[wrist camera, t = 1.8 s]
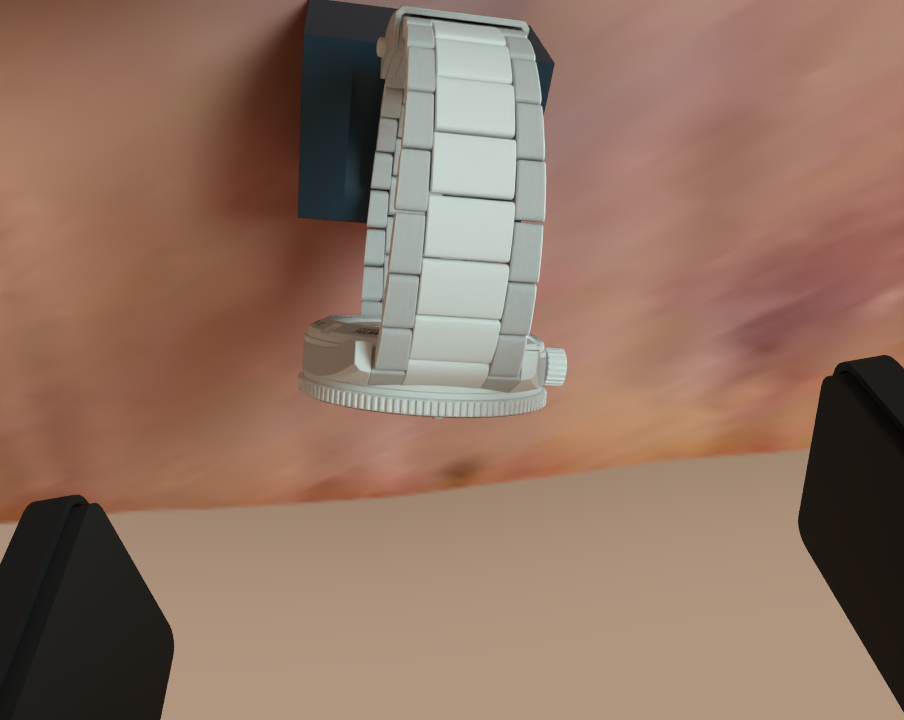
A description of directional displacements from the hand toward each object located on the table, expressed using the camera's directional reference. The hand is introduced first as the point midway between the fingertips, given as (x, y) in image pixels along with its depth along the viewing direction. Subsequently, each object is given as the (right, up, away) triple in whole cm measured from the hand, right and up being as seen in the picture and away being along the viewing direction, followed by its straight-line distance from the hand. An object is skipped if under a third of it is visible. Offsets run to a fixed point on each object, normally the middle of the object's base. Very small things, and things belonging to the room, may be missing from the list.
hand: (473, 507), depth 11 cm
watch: (-1, +9, +11) cm, 14 cm away
